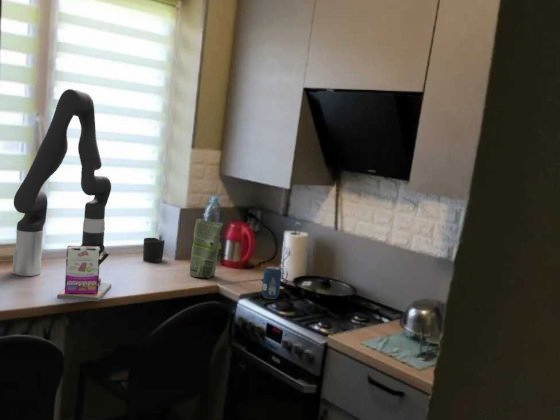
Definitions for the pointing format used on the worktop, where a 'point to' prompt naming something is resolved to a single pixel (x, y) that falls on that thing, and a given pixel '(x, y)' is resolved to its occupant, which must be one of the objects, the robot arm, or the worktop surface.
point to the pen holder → (153, 250)
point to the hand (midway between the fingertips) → (90, 276)
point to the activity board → (88, 297)
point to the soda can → (271, 282)
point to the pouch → (205, 248)
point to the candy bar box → (82, 270)
